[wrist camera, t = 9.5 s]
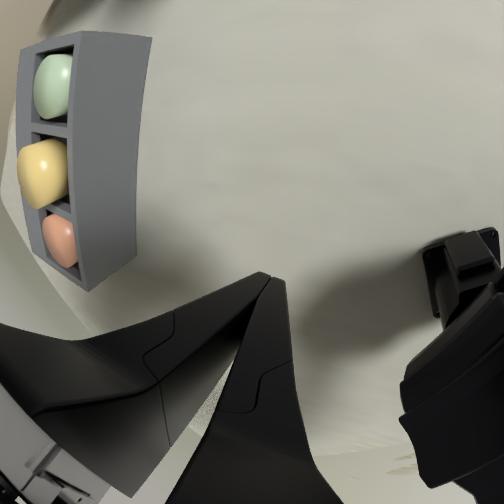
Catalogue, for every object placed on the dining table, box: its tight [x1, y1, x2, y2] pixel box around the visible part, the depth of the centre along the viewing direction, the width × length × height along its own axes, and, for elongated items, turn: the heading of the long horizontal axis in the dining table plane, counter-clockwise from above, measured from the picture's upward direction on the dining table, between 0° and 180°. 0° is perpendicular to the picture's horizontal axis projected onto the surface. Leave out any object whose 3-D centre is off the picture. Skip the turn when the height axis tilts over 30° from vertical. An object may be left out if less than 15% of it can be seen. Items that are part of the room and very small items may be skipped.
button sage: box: [33, 54, 73, 119], centre depth 16 cm, size 5×5×3 cm
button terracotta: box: [42, 214, 78, 268], centre depth 24 cm, size 5×5×3 cm
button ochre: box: [17, 137, 69, 209], centre depth 18 cm, size 5×5×3 cm
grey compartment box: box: [16, 31, 152, 292], centre depth 22 cm, size 11×22×8 cm, turn 168°
